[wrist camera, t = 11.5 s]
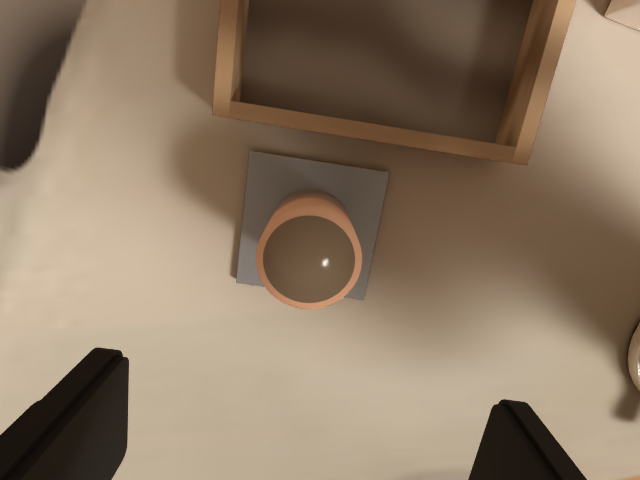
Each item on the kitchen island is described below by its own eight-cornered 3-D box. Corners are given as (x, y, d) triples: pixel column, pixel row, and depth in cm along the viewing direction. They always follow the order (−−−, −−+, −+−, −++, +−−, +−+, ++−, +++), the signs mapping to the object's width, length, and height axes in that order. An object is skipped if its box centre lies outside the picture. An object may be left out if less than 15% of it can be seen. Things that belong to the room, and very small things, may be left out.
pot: (343, 273, 29) (351, 316, 22) (265, 262, 29) (250, 301, 22) (357, 196, 28) (371, 217, 21) (275, 183, 27) (262, 200, 21)
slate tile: (362, 296, 31) (363, 300, 30) (237, 279, 30) (236, 282, 29) (387, 171, 28) (389, 172, 27) (250, 150, 27) (249, 151, 27)
